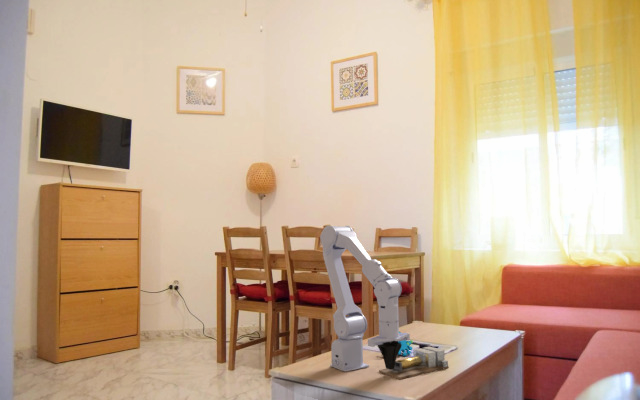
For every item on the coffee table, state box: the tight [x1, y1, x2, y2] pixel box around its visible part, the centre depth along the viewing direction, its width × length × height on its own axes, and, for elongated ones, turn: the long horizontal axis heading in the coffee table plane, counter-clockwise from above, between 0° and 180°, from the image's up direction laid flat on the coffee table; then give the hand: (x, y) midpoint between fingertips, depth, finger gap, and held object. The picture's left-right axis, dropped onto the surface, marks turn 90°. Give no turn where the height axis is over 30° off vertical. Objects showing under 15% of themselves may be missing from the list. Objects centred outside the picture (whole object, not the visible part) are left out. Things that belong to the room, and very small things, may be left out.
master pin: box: [394, 356, 422, 371], centre depth 143 cm, size 10×4×2 cm, turn 124°
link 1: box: [412, 348, 436, 368], centre depth 148 cm, size 3×8×4 cm, turn 34°
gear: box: [397, 331, 414, 357], centre depth 166 cm, size 11×6×10 cm
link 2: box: [422, 346, 449, 367], centre depth 149 cm, size 3×8×4 cm, turn 34°
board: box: [378, 362, 449, 380], centre depth 145 cm, size 20×9×1 cm, turn 124°
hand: (389, 368), depth 139 cm, fingers closed
